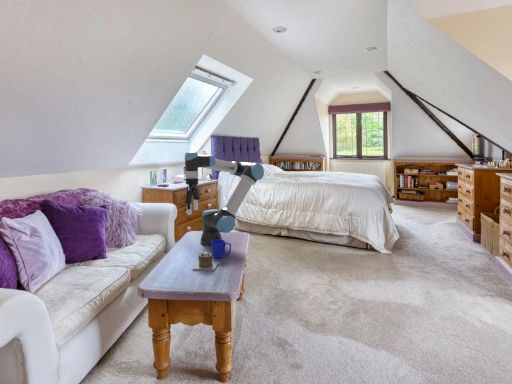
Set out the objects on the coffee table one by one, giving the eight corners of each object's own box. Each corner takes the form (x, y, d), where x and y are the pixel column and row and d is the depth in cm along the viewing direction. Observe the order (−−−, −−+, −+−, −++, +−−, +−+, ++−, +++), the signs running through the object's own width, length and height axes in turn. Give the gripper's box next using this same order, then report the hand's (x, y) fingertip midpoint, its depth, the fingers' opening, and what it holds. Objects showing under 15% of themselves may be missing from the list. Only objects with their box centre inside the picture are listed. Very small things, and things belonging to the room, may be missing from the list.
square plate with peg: (198, 262, 190) (198, 249, 188) (218, 263, 188) (218, 249, 187) (192, 270, 178) (192, 256, 177) (214, 271, 176) (213, 257, 175)
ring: (201, 262, 187) (201, 252, 186) (213, 263, 186) (213, 252, 185) (197, 267, 180) (197, 256, 179) (210, 267, 179) (210, 257, 178)
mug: (229, 260, 193) (229, 244, 191) (209, 259, 195) (209, 243, 194) (232, 255, 201) (232, 240, 199) (214, 254, 203) (213, 239, 202)
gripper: (192, 175, 210) (192, 208, 213) (178, 179, 185) (180, 216, 188) (203, 175, 209) (204, 208, 212) (191, 180, 184) (192, 216, 187)
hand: (192, 212), depth 200 cm, fingers open, 13 cm apart
